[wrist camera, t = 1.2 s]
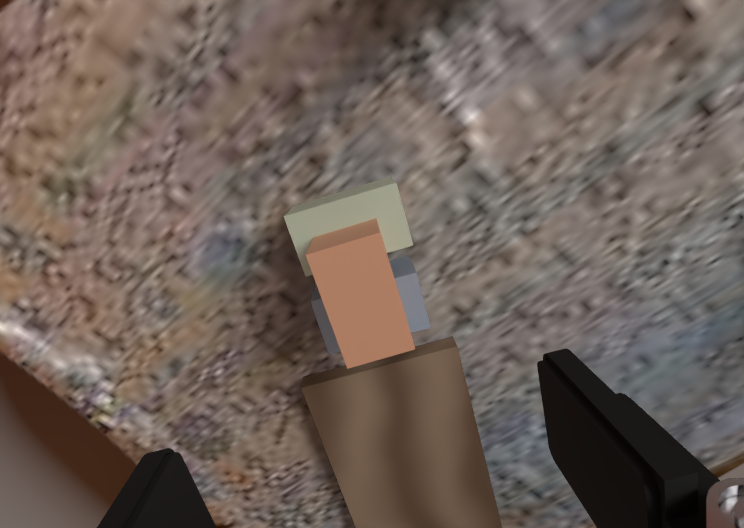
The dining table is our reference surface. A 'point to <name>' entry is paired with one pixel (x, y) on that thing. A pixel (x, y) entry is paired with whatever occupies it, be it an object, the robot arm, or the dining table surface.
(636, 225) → the dining table surface
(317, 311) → the slate brick
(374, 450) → the oak board
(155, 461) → the robot arm
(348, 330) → the terracotta brick
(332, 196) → the sage brick
